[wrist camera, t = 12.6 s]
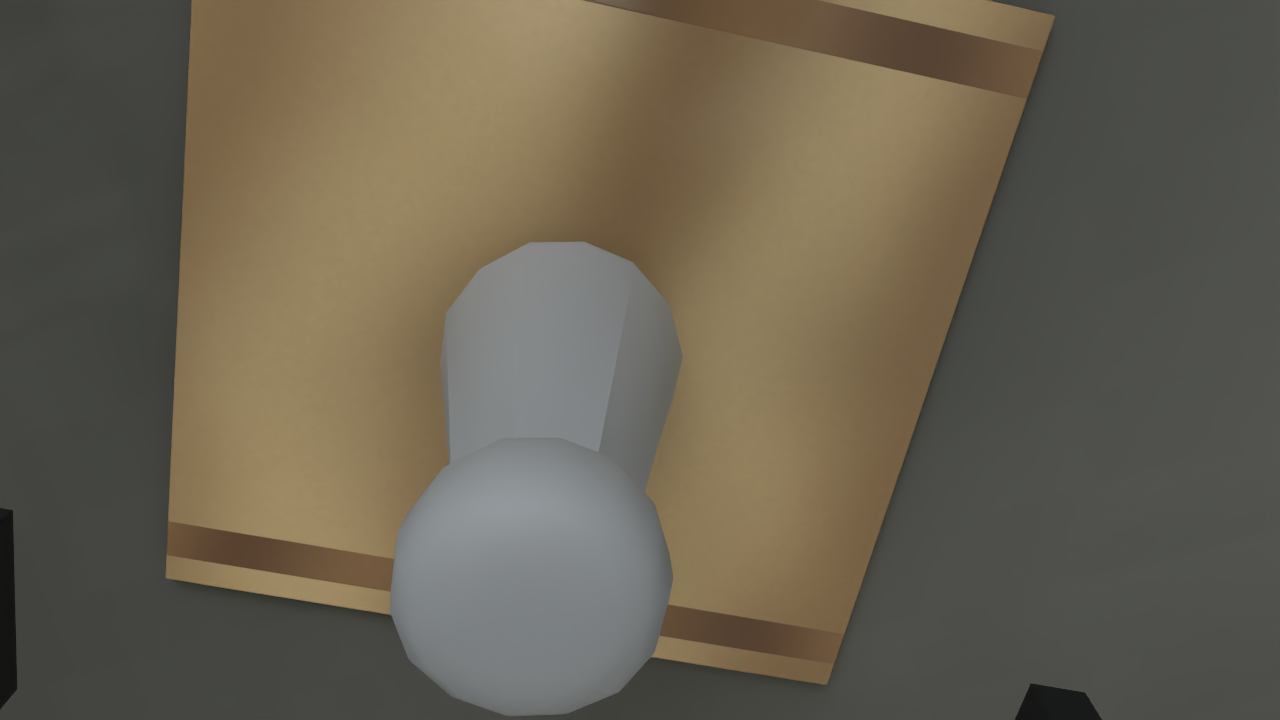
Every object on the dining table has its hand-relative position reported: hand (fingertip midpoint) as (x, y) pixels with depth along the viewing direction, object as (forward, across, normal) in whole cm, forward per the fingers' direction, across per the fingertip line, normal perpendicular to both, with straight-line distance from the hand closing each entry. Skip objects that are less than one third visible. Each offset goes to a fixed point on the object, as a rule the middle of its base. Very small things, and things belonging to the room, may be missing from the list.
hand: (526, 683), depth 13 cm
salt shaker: (+14, 0, 0) cm, 15 cm away
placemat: (+15, 0, 0) cm, 15 cm away
